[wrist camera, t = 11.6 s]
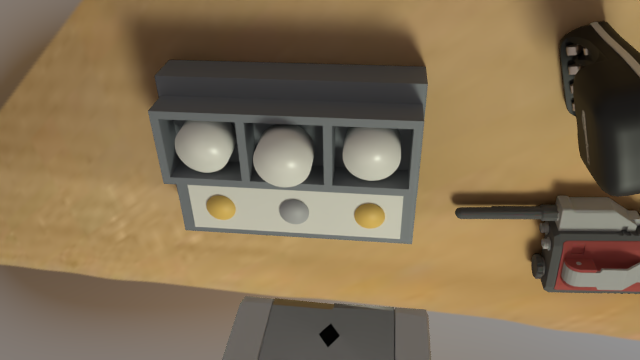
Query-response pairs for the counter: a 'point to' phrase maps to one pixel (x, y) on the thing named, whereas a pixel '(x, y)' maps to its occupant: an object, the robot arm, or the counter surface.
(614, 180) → the battery charger
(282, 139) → the middle button
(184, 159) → the button
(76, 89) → the counter surface
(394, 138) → the button
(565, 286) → the walkie-talkie
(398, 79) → the pattern board
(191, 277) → the counter surface
